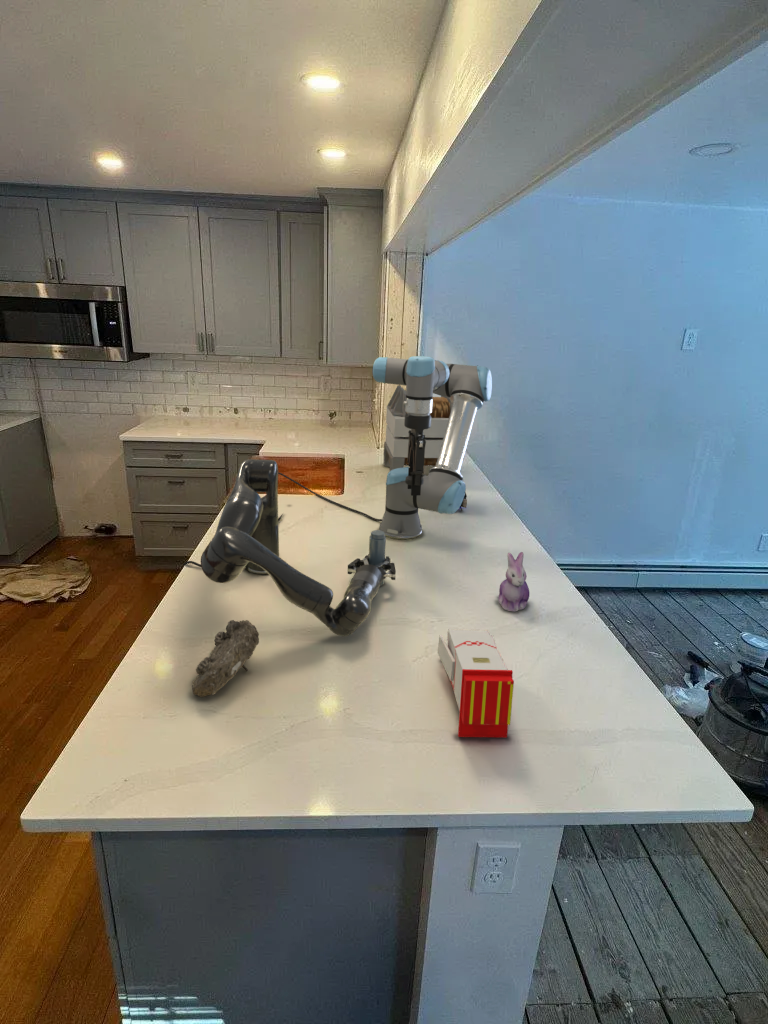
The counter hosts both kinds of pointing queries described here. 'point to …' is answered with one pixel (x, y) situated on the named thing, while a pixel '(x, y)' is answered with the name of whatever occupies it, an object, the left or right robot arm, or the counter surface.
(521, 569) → the figurine
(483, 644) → the toy
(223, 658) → the fossil
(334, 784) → the counter surface
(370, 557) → the jar
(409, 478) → the lid
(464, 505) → the figurine character
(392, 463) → the white wooden crate
